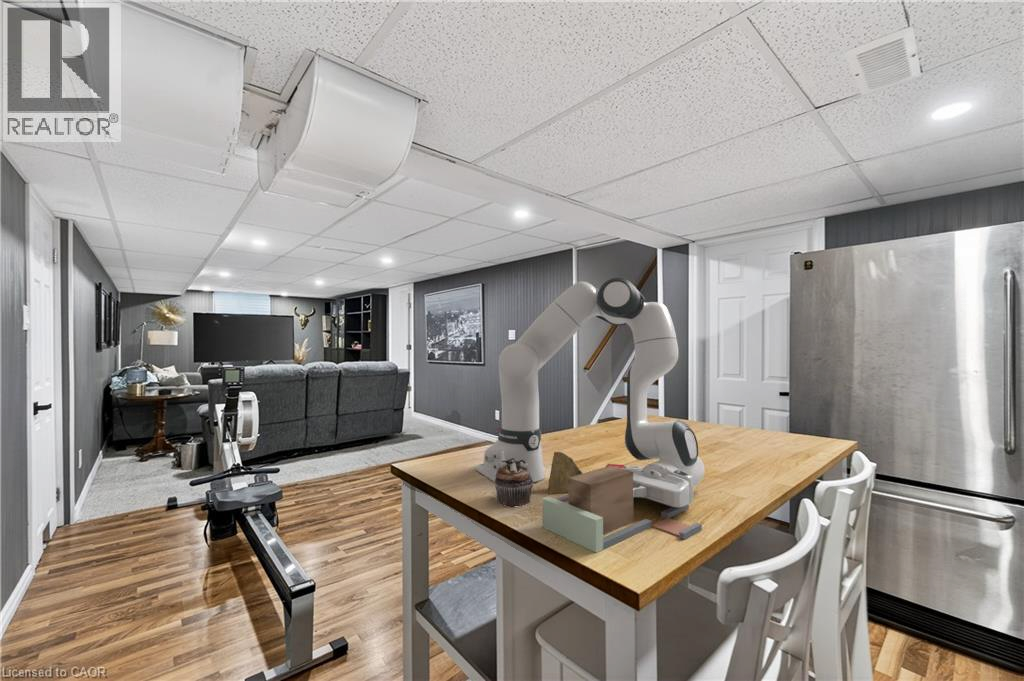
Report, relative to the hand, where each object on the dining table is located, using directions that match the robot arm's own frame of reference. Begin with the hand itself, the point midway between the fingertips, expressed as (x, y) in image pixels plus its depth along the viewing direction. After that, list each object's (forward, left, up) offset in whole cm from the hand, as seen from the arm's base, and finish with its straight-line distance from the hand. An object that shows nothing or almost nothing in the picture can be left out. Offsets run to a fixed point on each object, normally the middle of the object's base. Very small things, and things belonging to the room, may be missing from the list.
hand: (625, 493), depth 96 cm
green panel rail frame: (0, -2, -5) cm, 5 cm away
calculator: (-14, +19, -6) cm, 24 cm away
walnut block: (0, -9, -5) cm, 10 cm away
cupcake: (-23, -14, -5) cm, 27 cm away
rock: (-20, +2, -5) cm, 21 cm away
